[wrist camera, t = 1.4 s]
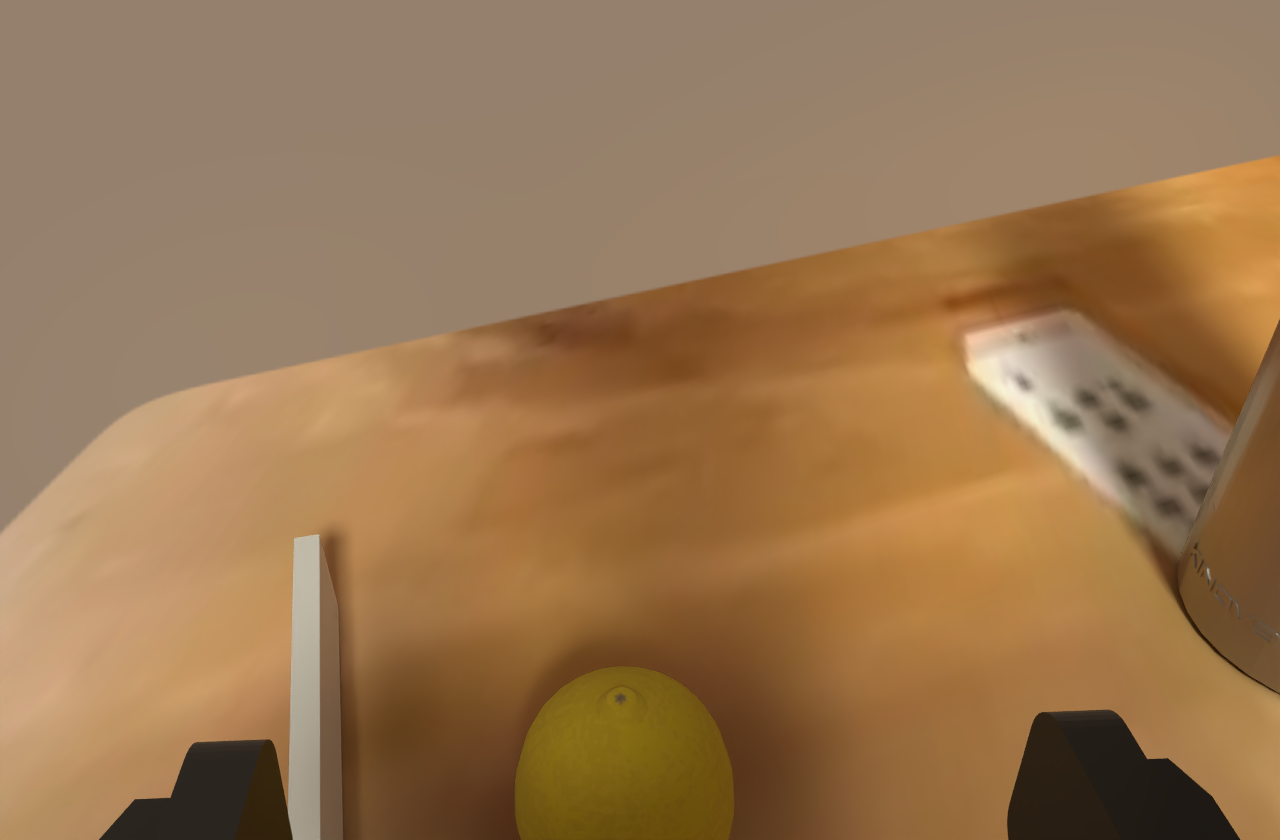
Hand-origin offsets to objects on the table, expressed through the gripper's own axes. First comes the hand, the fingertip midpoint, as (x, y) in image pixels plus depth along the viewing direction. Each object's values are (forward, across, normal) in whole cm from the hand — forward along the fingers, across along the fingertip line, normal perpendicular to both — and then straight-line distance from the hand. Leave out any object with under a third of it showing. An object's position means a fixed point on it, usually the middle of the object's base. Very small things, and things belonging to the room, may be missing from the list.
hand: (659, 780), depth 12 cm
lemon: (+12, -1, +17) cm, 21 cm away
